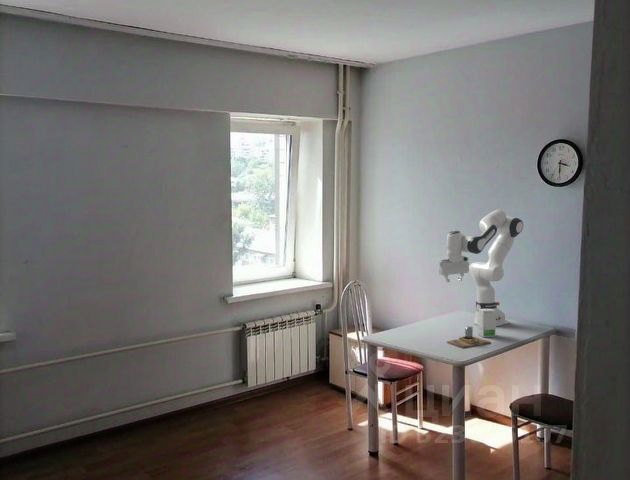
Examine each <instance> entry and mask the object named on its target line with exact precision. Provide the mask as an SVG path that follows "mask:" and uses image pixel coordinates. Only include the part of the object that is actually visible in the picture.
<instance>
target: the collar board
mask: <svg viewBox="0 0 630 480" xmlns="http://www.w3.org/2000/svg"><path fill="white" fill-rule="evenodd" d="M446 343H447V344H448V345H451V346H455V347H458V348H459V349H460V348H461V349H467V348H472V347H478V346H484V345H489V344H491V341H490V340H487V339H483V338H482V337H481V338H480V337H478V336H473V339H470V340H467V339H465V336H459V337H458V338H457V339H452V340H447V341H446Z"/></svg>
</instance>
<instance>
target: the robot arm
mask: <svg viewBox="0 0 630 480" xmlns="http://www.w3.org/2000/svg"><path fill="white" fill-rule="evenodd" d="M478 227H479V229H480V231H481V232H482V233H481V234H480V235H478V236H471V235H470V236H469V235H465V234H463V233H462V232H461V231H460V230H451V231H449V232H448V233H447V235H446V254H445V255H446V259H445V258H444V259H441V260H440V262H439V268H438V273H439V275H440V276H443V278H444V280H445V283H450V280H451V279H449V276H451V275H459V277H458V279H457V280H458V281H459V282H462V281H463V277H464V274H467V273H468V274H469V276H471V278H472V279H473V282H474V285H475V290H476V291H475V292H476V301H475V307H476V308H475V315H474V320H473V321H474V322H473V324H475V325H477V326H478V322H479V309H493V310H496V327H500V326H503V325H508V324H509V323H510V321H509V320H508V319H506V314H505V313H504V312H503V311H502V310H501V309H499V307H497V306H501V305H500V304H501V303H500V302H498V301H496V300H495V297H496V294H495V293H496V291H495V288H494V287H493V285H492V284H491V282H500V281H501V280H502V279H503V277H504V276H505V275H504V274H505V271H504V270H505V269H504V268H503V264H504V261H505V259H506V258H507V256H508V254H509V252H510V250H511V249H512V247H513V244H514V242H515V238H516V237H517V236H518V235H520V234H521V233H522V231H523V229H524V223H523V220H522V219H520V218H518V217H514V216H511V215H507V214H506V212H504V211H503V210H502V209H495V210H493V211H491V212H489V213H488V214H486V215H485V216H484V217H482V219H481V220H480V221H479V225H478ZM497 232H499V234H498V236H497V237H496V238H495V239H494V241H493V243H492V244H491V246H490V247H489V249H488V250H487V257H488V261H487V262H484V261H483V262H482V261H475V262H472V263H470V262H469V260H470V259H469V257H468V256H464V255H463V253H470V254H476V255H478V254H481V252H482V251H483V250H484V249H485V247H486V245H487V244H488V243H489V242H490V241H491V240H492V239H493V238H494V237H495V236H496V234H497ZM462 252H463V253H462Z"/></svg>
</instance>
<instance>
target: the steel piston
mask: <svg viewBox="0 0 630 480" xmlns="http://www.w3.org/2000/svg"><path fill="white" fill-rule="evenodd" d="M473 332H474V331H473V326H465V329H464V335H465V339H467V340H470V339H473V337H474V335H473V334H474V333H473Z"/></svg>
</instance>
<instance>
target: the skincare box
mask: <svg viewBox="0 0 630 480" xmlns="http://www.w3.org/2000/svg"><path fill="white" fill-rule="evenodd" d="M477 326H478V329H477V331H478V332H477V334H478V336H479V337H481V338H493V337H494V338H495V337H496V327H497V326H496V310H493V309H479V322H478V325H477Z"/></svg>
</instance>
